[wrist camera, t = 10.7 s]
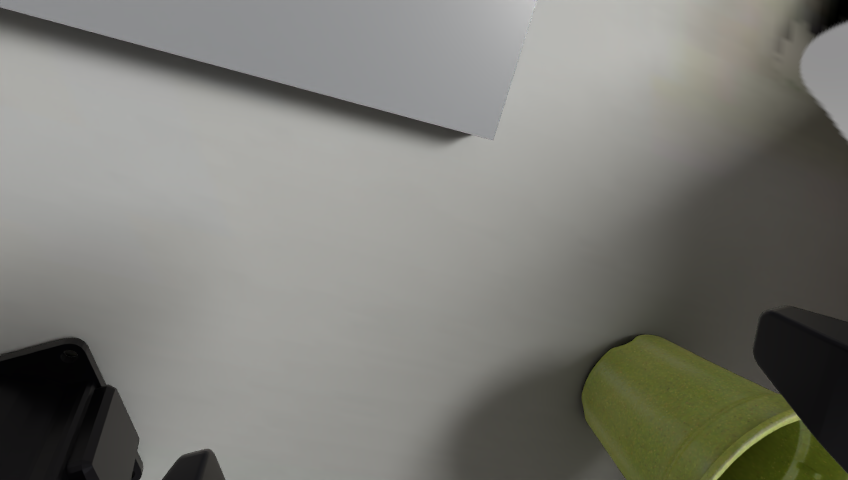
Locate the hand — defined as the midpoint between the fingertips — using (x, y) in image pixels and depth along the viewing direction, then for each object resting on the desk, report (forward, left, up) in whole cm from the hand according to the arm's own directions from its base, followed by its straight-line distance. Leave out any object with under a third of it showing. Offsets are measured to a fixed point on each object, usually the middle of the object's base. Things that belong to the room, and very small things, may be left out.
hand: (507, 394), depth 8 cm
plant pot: (+13, -14, -13) cm, 23 cm away
